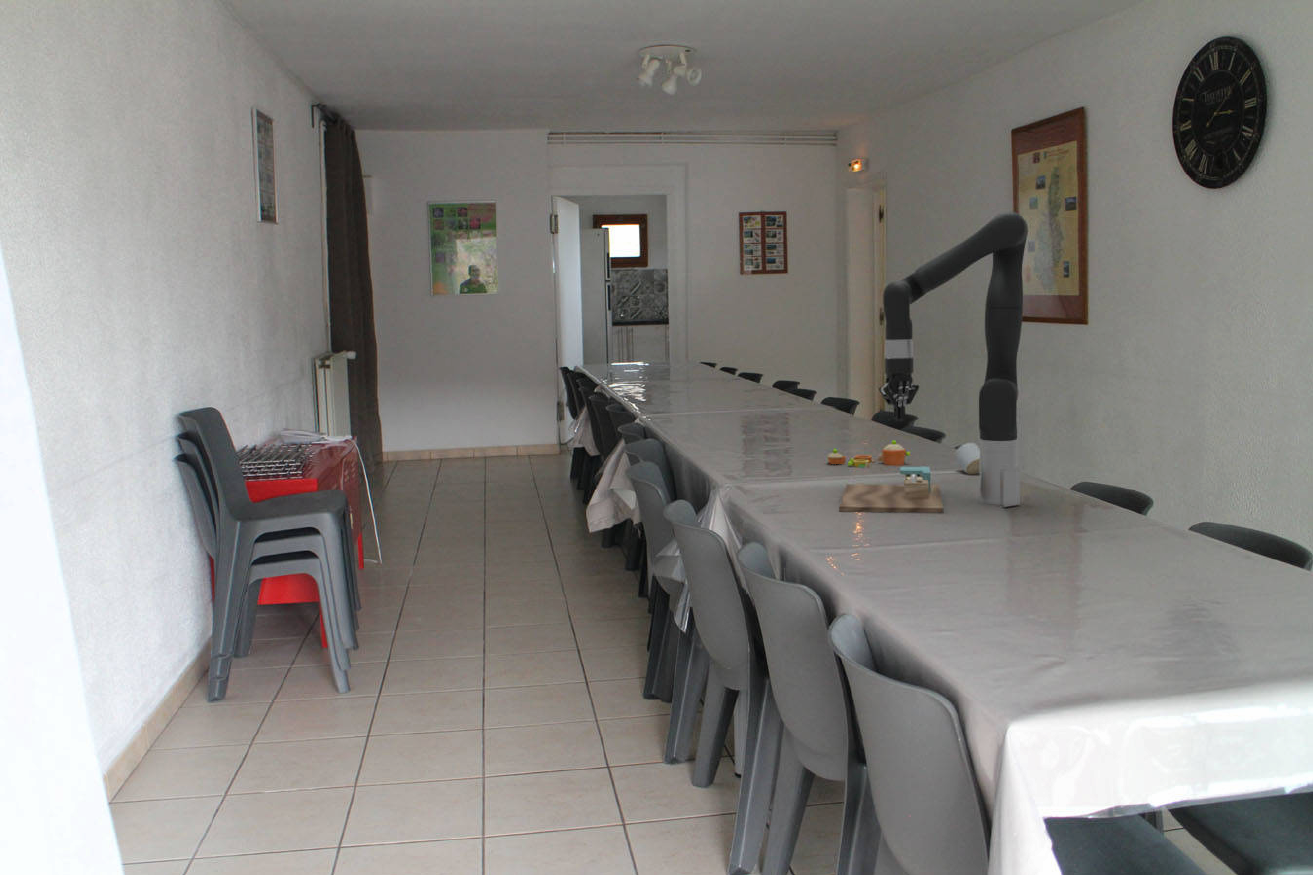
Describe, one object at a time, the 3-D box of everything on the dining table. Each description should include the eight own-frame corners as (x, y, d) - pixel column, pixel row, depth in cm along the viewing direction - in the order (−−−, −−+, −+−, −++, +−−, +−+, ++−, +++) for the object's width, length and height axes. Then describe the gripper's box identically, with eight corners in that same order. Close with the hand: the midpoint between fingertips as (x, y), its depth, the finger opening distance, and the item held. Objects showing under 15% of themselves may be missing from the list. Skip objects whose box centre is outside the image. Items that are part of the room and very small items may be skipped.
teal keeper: (929, 486, 290) (929, 466, 289) (930, 493, 279) (930, 472, 278) (900, 486, 292) (900, 466, 291) (900, 493, 281) (900, 472, 280)
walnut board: (938, 489, 292) (938, 485, 292) (943, 512, 257) (943, 508, 257) (847, 488, 298) (847, 484, 298) (839, 511, 263) (839, 506, 263)
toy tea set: (893, 464, 347) (893, 435, 346) (916, 470, 332) (916, 440, 331) (821, 469, 340) (820, 440, 339) (841, 475, 325) (841, 445, 324)
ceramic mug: (968, 481, 314) (965, 464, 309) (956, 464, 320) (953, 447, 315) (1000, 468, 314) (998, 450, 309) (987, 451, 320) (985, 434, 315)
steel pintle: (916, 496, 275) (916, 474, 274) (916, 497, 273) (916, 475, 272) (910, 496, 275) (910, 474, 274) (910, 497, 273) (910, 475, 273)
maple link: (928, 498, 271) (928, 483, 271) (905, 498, 272) (905, 483, 272) (923, 487, 289) (923, 473, 289) (901, 487, 290) (901, 473, 290)
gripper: (907, 355, 284) (907, 418, 285) (870, 357, 277) (871, 421, 279) (927, 355, 277) (927, 419, 279) (890, 357, 270) (890, 423, 272)
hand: (899, 420), depth 279 cm, fingers closed
